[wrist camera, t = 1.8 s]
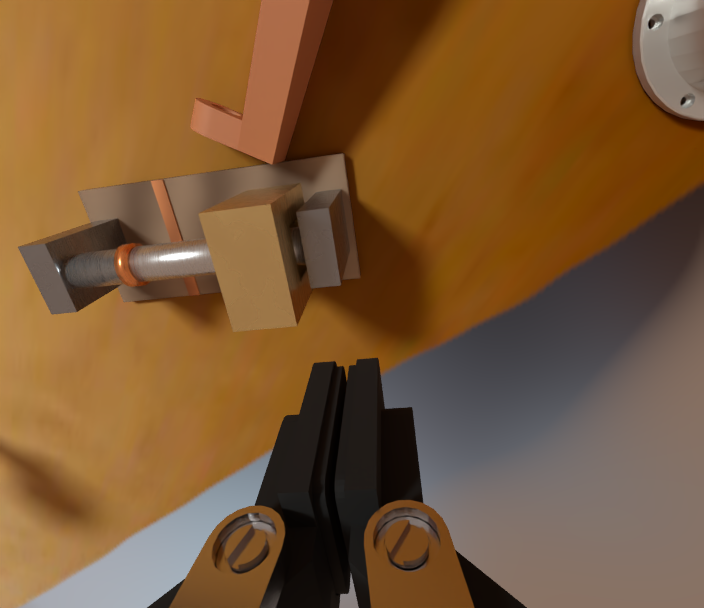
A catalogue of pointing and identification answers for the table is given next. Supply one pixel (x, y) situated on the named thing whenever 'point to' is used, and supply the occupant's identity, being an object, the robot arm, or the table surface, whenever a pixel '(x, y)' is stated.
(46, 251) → the pipe rail
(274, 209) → the collar
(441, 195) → the table surface
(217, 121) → the crank
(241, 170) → the base board
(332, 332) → the table surface
